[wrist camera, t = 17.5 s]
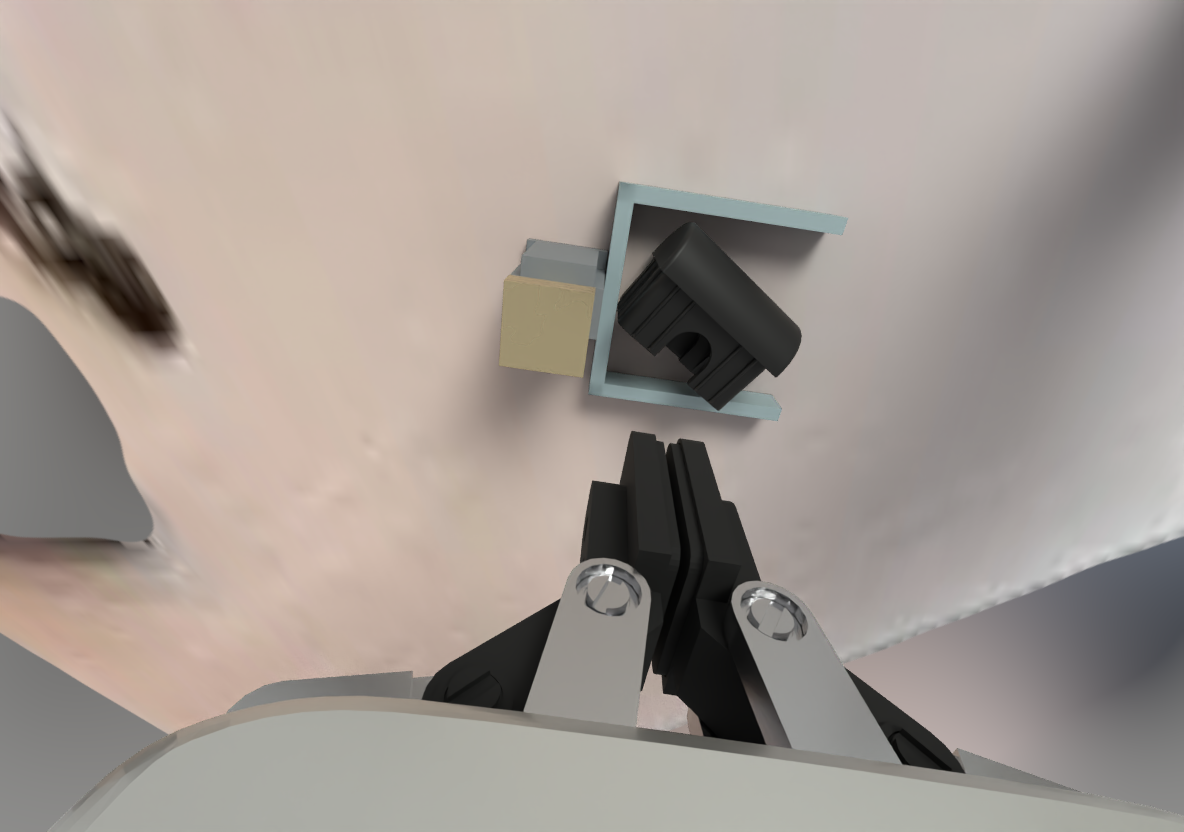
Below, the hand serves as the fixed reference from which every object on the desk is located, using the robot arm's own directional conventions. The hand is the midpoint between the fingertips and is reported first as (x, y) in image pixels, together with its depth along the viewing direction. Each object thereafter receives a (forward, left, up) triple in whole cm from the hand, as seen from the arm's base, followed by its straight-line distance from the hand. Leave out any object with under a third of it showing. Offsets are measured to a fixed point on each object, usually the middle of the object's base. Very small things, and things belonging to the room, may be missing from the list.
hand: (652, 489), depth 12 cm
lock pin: (+1, -4, -25) cm, 25 cm away
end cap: (+1, +5, -26) cm, 26 cm away
